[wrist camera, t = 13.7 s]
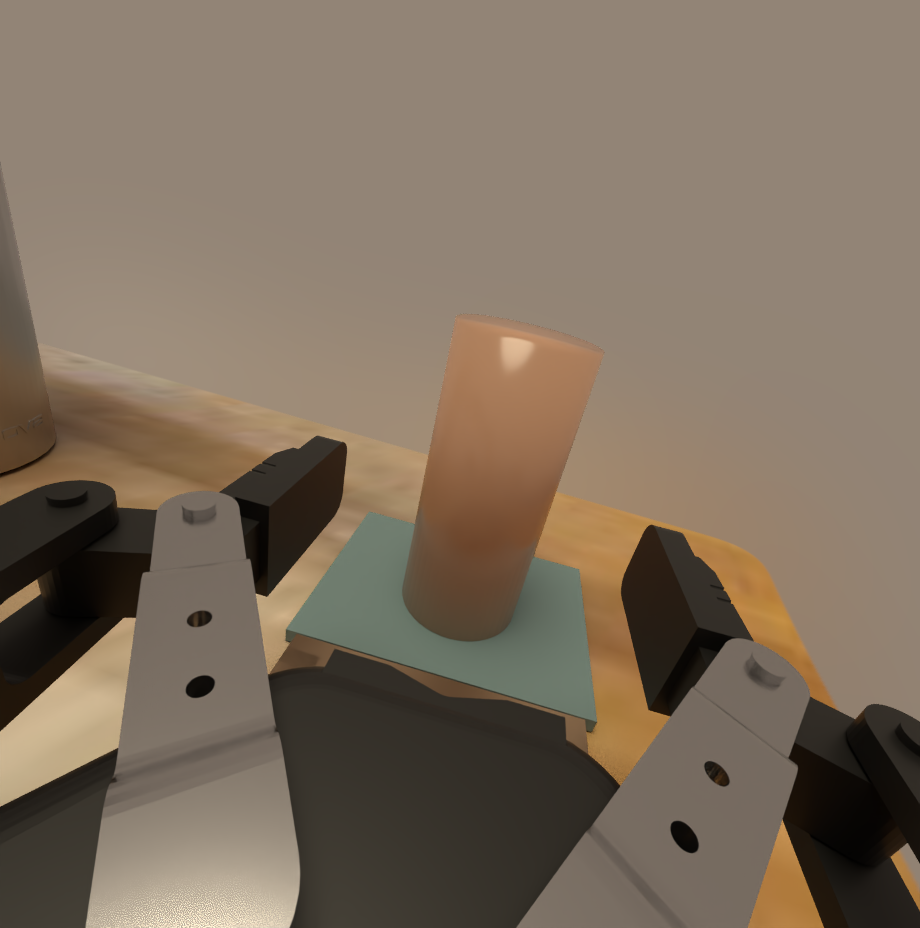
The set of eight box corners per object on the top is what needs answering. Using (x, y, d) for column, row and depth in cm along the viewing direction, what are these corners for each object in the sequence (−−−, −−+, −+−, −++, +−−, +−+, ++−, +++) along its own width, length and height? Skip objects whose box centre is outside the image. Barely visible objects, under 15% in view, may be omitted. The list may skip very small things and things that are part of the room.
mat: (285, 640, 17) (286, 629, 17) (368, 520, 25) (369, 511, 25) (591, 732, 16) (597, 721, 16) (575, 578, 25) (579, 569, 24)
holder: (6, 1122, 8) (-16, 1099, 7) (294, 662, 16) (296, 633, 16) (607, 1361, 7) (643, 1358, 6) (571, 746, 16) (584, 719, 15)
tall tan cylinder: (386, 620, 18) (441, 323, 13) (418, 548, 23) (468, 308, 18) (509, 656, 18) (615, 366, 13) (516, 575, 23) (595, 340, 18)
